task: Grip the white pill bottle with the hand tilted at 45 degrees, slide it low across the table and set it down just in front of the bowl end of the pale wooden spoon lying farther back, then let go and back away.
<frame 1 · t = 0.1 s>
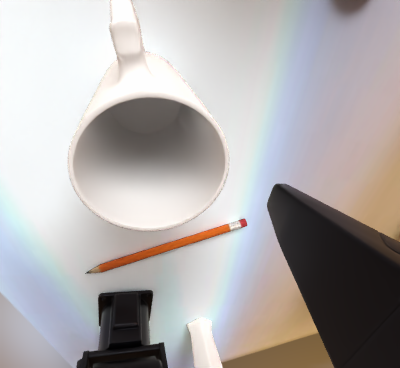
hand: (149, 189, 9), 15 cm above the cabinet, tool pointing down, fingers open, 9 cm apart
pencil: (165, 243, 31), on the cabinet
mug: (139, 72, 21), on the cabinet
perfume bottle: (198, 323, 42), on the cabinet
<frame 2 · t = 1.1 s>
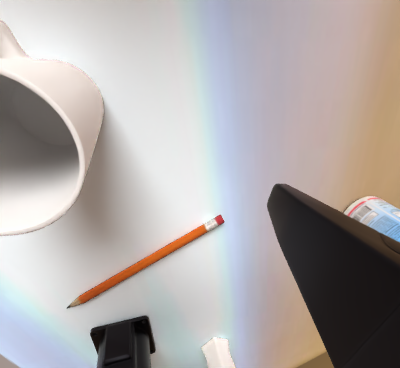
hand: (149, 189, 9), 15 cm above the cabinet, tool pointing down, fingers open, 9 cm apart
pill bottle: (358, 215, 33), on the cabinet
pencil: (143, 259, 29), on the cabinet
mug: (48, 83, 20), on the cabinet
perfume bottle: (214, 344, 37), on the cabinet
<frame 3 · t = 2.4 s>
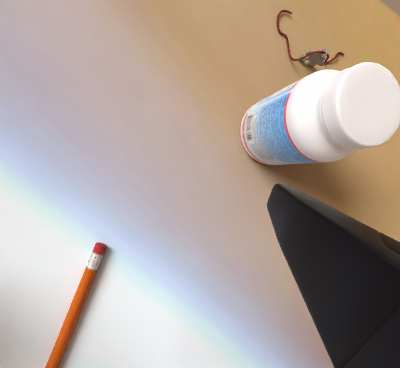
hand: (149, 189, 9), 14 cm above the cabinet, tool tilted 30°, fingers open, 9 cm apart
pill bottle: (267, 133, 26), on the cabinet
pendant: (306, 49, 27), on the cabinet
pencil: (57, 352, 22), on the cabinet
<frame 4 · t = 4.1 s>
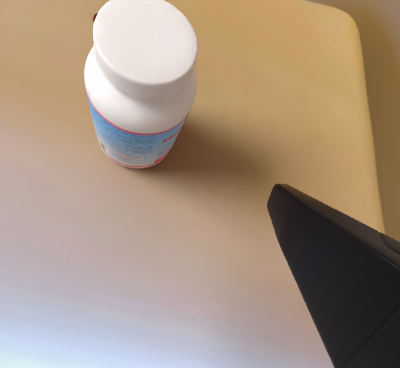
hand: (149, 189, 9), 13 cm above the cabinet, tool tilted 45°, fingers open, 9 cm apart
pill bottle: (136, 135, 23), on the cabinet
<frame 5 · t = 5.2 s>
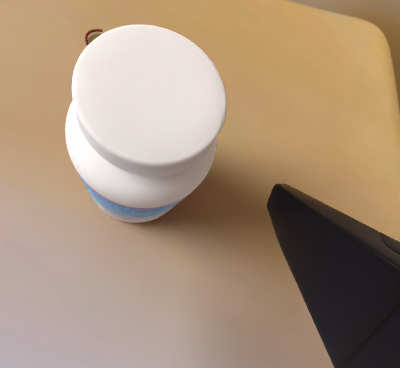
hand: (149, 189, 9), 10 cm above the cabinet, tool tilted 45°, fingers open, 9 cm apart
pill bottle: (136, 179, 19), on the cabinet
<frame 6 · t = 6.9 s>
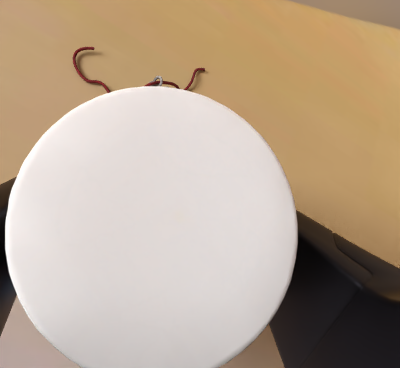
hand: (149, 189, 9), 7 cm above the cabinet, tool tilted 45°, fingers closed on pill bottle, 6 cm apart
pill bottle: (136, 237, 15), on the cabinet, touching gripper
pendant: (145, 85, 17), on the cabinet
when the fingers open (7 cm above the cabinet, at t = 13.7 s): pill bottle stays where it is, on the cabinet.
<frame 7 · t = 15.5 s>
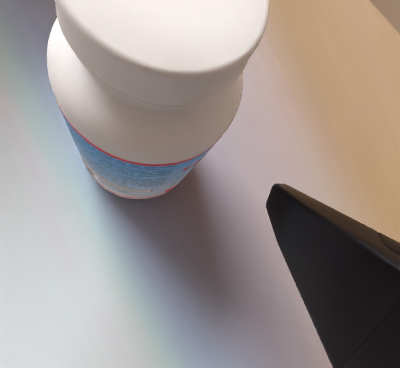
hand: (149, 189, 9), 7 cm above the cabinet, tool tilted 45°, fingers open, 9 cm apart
pill bottle: (138, 151, 16), on the cabinet
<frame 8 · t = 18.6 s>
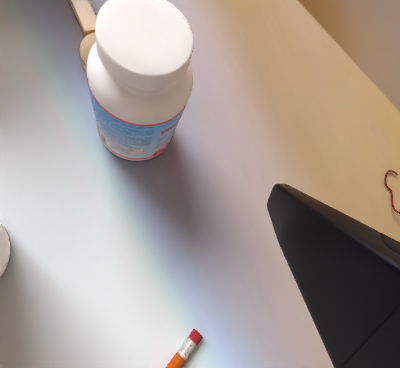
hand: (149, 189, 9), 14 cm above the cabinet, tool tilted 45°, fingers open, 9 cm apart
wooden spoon: (85, 17, 24), on the cabinet
pill bottle: (135, 129, 23), on the cabinet
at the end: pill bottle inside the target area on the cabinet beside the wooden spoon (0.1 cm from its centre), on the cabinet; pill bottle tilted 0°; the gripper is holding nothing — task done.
